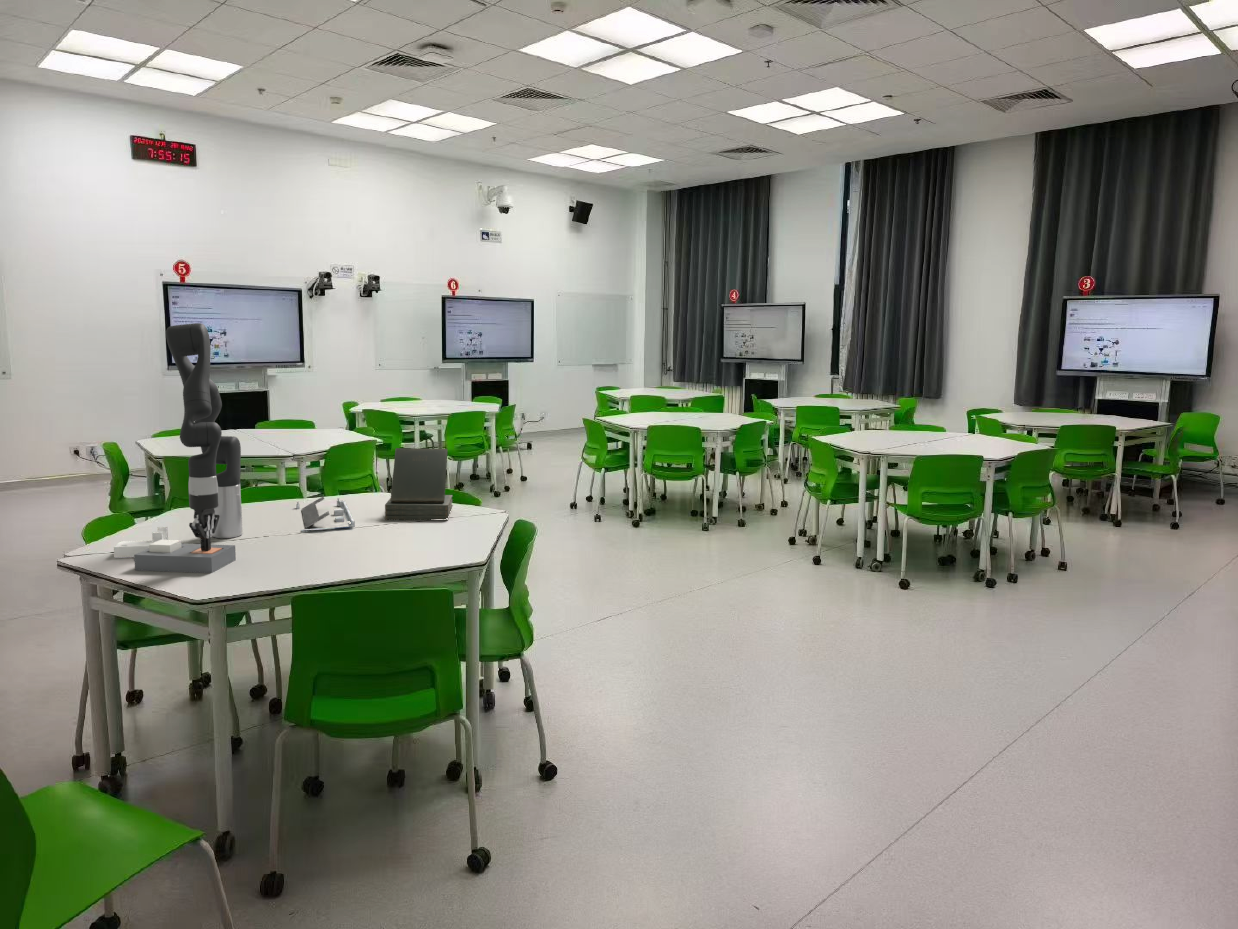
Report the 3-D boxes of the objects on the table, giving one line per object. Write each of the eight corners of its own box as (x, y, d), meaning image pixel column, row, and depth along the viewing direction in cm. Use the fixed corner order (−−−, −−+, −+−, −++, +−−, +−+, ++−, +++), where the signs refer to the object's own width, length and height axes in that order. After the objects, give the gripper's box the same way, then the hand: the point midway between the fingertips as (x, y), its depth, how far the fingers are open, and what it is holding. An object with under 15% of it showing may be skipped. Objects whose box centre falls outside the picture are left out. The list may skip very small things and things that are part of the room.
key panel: (163, 557, 249) (162, 542, 248) (235, 560, 249) (235, 545, 248) (135, 570, 235) (134, 554, 235) (212, 573, 235) (211, 557, 234)
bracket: (168, 551, 258) (167, 527, 256) (163, 556, 251) (161, 532, 250) (121, 552, 254) (120, 528, 253) (114, 558, 247) (112, 533, 246)
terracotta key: (202, 558, 245) (201, 547, 244) (222, 559, 245) (221, 548, 244) (191, 564, 239) (190, 552, 238) (212, 565, 239) (211, 553, 238)
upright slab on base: (385, 521, 307) (384, 454, 303) (393, 510, 326) (392, 446, 323) (448, 521, 310) (448, 454, 306) (452, 510, 329) (452, 447, 325)
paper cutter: (345, 506, 331) (344, 492, 330) (356, 531, 290) (356, 515, 290) (296, 508, 324) (295, 494, 323) (301, 534, 283) (300, 518, 283)
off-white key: (161, 551, 245) (160, 539, 244) (181, 551, 245) (181, 540, 244) (149, 556, 239) (149, 544, 238) (170, 557, 239) (169, 545, 238)
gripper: (202, 487, 245) (205, 544, 248) (177, 495, 232) (180, 555, 235) (227, 487, 245) (230, 545, 248) (204, 496, 232) (207, 556, 234)
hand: (206, 550), depth 241 cm, fingers closed
